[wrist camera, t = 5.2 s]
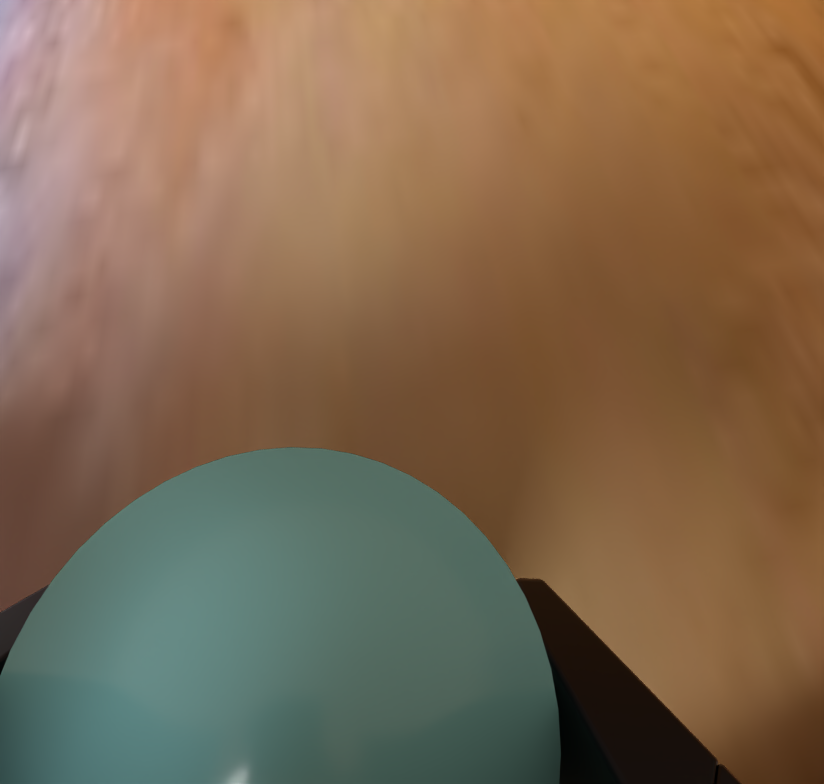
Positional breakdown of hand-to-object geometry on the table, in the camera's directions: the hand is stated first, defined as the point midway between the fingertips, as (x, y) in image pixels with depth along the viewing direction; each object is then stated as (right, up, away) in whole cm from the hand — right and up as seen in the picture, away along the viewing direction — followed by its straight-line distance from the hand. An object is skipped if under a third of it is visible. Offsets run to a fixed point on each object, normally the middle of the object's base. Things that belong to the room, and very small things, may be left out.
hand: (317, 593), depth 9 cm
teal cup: (0, -4, +6) cm, 7 cm away
